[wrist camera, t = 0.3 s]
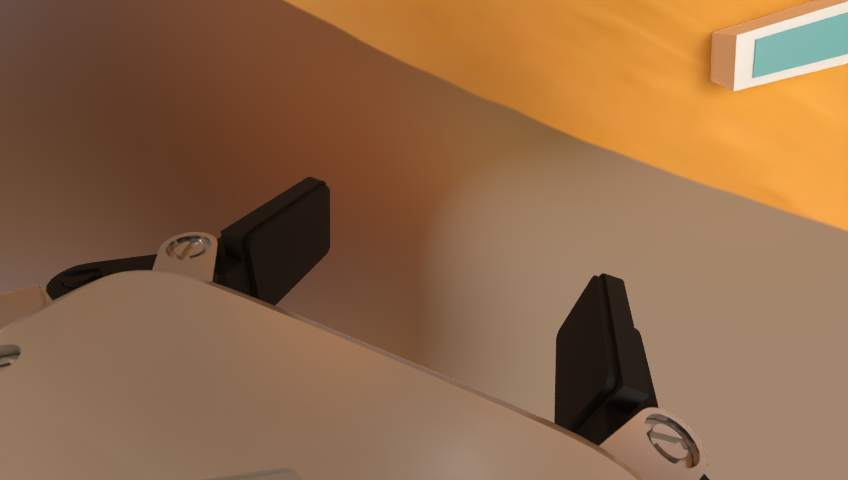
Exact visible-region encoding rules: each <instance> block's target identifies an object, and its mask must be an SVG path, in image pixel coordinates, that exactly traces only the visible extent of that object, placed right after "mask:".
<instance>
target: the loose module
mask: <svg viewBox="0 0 848 480" xmlns="http://www.w3.org/2000/svg"><path fill="white" fill-rule="evenodd" d="M846 63H848V0H813V1H810V2H807V3H804V4H801V5H798V6H794V7H791V8H788V9H785V10H782V11H779V12H775V13H772V14H769V15H766V16H763V17H760V18H756V19H753V20H750V21H747V22H744V23H741V24H737V25H734V26H731V27H728V28H725V29H721V30H718V31H715V32H712V47H711V82H714V83H716V84H718V85H720V86H723V87H725V88H727V89H729V90H732V91H737V90H741V89H745V88H749V87H753V86H757V85H761V84H765V83H769V82H773V81H777V80H781V79H786V78H790V77H794V76H798V75H802V74H806V73H810V72H814V71H818V70H822V69H826V68H830V67H834V66H838V65H842V64H846Z"/></svg>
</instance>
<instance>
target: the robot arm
mask: <svg viewBox="0 0 848 480" xmlns="http://www.w3.org/2000/svg"><path fill="white" fill-rule="evenodd" d="M221 235H222V237H220V238H218V239H216V238H215V237H214V236H212V235H210V234H206V233H202V232H191V233H184V234H181V235H178V236H175V237H173V238H171V239H169V240H167V241H166V242H165V243H163V244H162V246H161V247H160V249H159V252H158V254H155V255H147V256H139V257H131V258H124V259H116V260H108V261H101V262H93V263H87V264H83V265H77V266H74V267H72V268H69V269H67V270H65V271H63V272H61V273H59V274H58V275H56V276H55V277H54V278H52V279H51V281H50V282H49V283H48V285H47V287H45V288H41V287H40V285H39V284H37V285H33V286H30V287H26V288H22V289H19V290H15V291H12V292H9V293H4V294H1V295H0V480H709V479H708V478H707V476H706V475H705V474H704V473H705V471H706V469H707V466H708V462H707V455H706V452H705V450H704V447H703V445H702V443H701V442H700V440H699V439H698V437H697V436H696V434H695V433H694V432H693V431H692V430H691V429H690V428H689V427H688V426H687V425H686V424H685V423H684V422H683V421H681V420H680V419H679V418H678V417H676V416H674V415H673V414H671V413H669V412H667V411H665V410H662V409H659V408H658V403H657V399H656V396H655V391H654V387H653V383H652V379H651V375H650V371H649V367H648V363H647V359H646V354H645V350H644V346H643V342H642V338H641V335H640V333H639V331H638V330H637V329H635V328H634V324H633V320H632V315H631V311H630V307H629V302H628V298H627V294H626V289H625V285H624V281H623V280H622V279H619V278H616V277H613V276H610V275H607V274H601V275H600V276H599V277H598V276H593V277H592V278H591V280H590V282H589V283H588V285H587V286H586V288H585V290H584V291H583V293H582V294H581V296H580V297H579V299H578V301H577V302H576V304H575V305H574V307H573V309H572V310H571V312H570V313H569V315H568V317H567V318H566V320H565V321H564V323H563V325H562V326H561V328H560V330H559V331H558V334H557V338H556V376H555V379H556V380H555V423H553V422H550V421H548V420H546V419H544V418H541V417H539V416H537V415H534V414H532V413H530V412H528V411H525V410H523V409H521V408H519V407H516V406H514V405H512V404H509V403H507V402H505V401H503V400H500V399H498V398H496V397H493V396H491V395H488V394H486V393H484V392H481V391H479V390H477V389H474V388H472V387H470V386H467V385H465V384H462V383H460V382H458V381H455V380H452V379H450V378H448V377H446V376H443V375H441V374H439V373H436V372H434V371H431V370H429V369H426V368H424V367H422V366H420V365H417V364H415V363H412V362H410V361H408V360H405V359H403V358H400V357H398V356H395V355H393V354H391V353H388V352H386V351H384V350H381V349H379V348H376V347H374V346H372V345H369V344H367V343H364V342H362V341H359V340H357V339H355V338H352V337H349V336H347V335H345V334H342V333H340V332H337V331H335V330H333V329H330V328H328V327H326V326H323V325H321V324H318V323H315V322H313V321H311V320H308V319H306V318H303V317H301V316H299V315H296V314H294V313H291V312H289V311H286V310H284V309H281V308H279V307H276V306H275V305H276V304H277V303H278V302H279V301H280V300H281V299H282V298H283V297H284V296H285V295H286V294H287V293H288V292H289V291H290V290H291V289H292V288H293V287H294V286H295V285H296V284H297V283H298V282H299V281H300V280H301V279H302V278H303V277H304V276H305V275H306V274H307V273H308V272H309V271H310V270H311V269H312V268H313V267H314V266H315V265H316V264H317V263H318V262H319V261H320V260H321V259H322V258H323V257H324V256H325V255H326V254H327V253H328V251H329V248H330V190H329V188H328V187H327V186H326V183H325V182H324V181H321V180H318V179H315V178H312V177H307V178H306V179H304V180H302V181H301V182H299V183H297V184H296V185H294V186H293V187H291V188H290V189H288V190H286V191H285V192H283V193H282V194H280V195H278V196H277V197H275V198H274V199H272V200H270V201H269V202H267V203H265V204H264V205H262V206H260V207H259V208H257V209H256V210H254V211H252V212H251V213H249V214H248V215H246V216H244V217H243V218H241V219H240V220H238V221H236V222H235V223H233V224H232V225H230V226H228V227H227V228H225V229H224V230H222V231H221Z"/></svg>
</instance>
